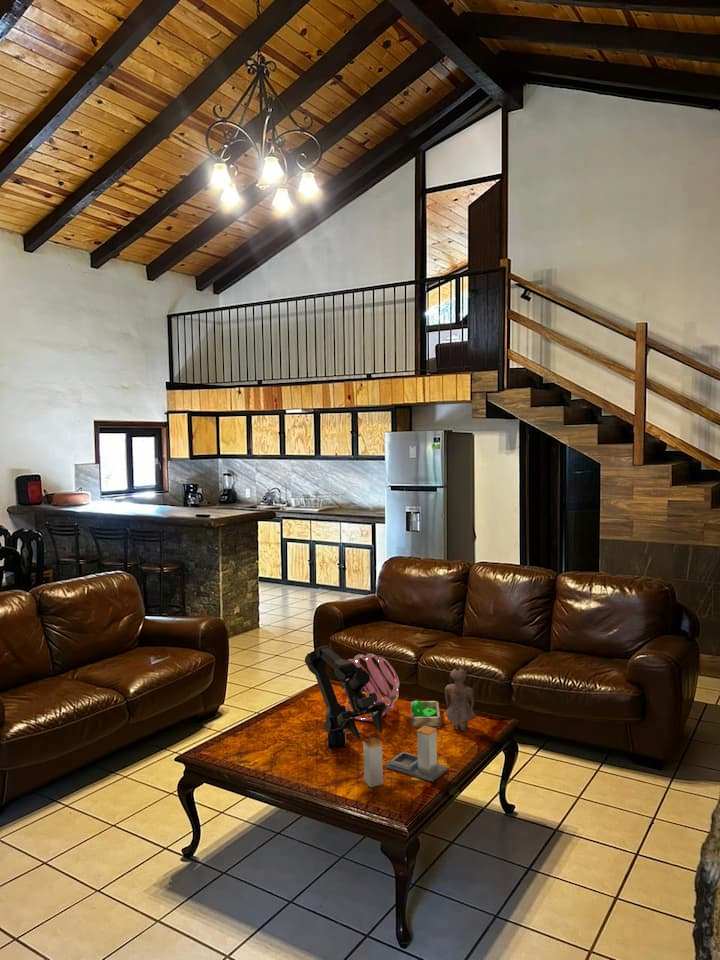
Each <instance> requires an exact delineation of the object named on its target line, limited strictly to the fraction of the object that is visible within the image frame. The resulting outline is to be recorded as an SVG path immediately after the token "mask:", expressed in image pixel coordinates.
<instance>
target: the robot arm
mask: <svg viewBox="0 0 720 960" xmlns="http://www.w3.org/2000/svg"><path fill="white" fill-rule="evenodd" d="M304 663H305V665H306V667H307V668H308V671H309V672H311V674H312V675H314V676H315V679H316V680H317V681H316V682H317V685H318V687H319V689H320V692H321V696H322V698H323V701H324V704H325V706H326V712H325V718H326V719H325V721H324V723H323V724H322V726H323V731H325V732H326V733H327V746H326V747H327V748H329V749H334V748H336V749H337V748H339V749H343V748H345V745H346V743H347V742H346V741H347V737H346V735H347V733H346V732H347V731H345V730H349V731H350V732H351V733H352V734H353V736H355V738H357V739H358V740H360V739H361V735H360V733H359V730H358V727H357V725H356V721H355V720H356V719H355V717H362V716H365V715H369V713H371V714H373V715H374V716H373V717H372V716H371V718H373V720H372V721H373V722H374V724H375V726H376V729H377V731H378V733H380V734H381V733H382V732H383V729H382V718H383V717H382V713H383V712H384V710H385V709H386V708H387V707H386V705H387V703H386V704H385V703H384V702H379V703H375V704H374V702H376V701H377V700H378V699H377V695H376V693H370V694H369V695H368V696H367V695H366V693H363V690H362V689H364V686H365V685H366V684H367V683H368V682H369V681H370V676H371V674H370V673H369V672H368V671H367V670H366V669H365V670H366V671H367V672H368V673H369V674H368V673H367V672H366V671H365V670H362V668H361V667H357V666H356V665H355V664H354V663H353V662H351V661H349V659H343V658H342V657H340V656H339V655H338V654H337V653H336V652H335V651H334V650H332V649H331V648H330V646H329V645H322V646H319V647H316V649H314V650H313V651H311V652H308V653H306V655H305V657H304ZM328 665H329V666H330V668H331V669H333V670H334V676H336V677H337V679H338V680H340V681H343V684H342V686H341V690H345V694H346V695H347V698H348V701H347V703H348V705H350V706H351V707H352V709H349V710H348V711H346V710H347V707H346V705H344V704H342V705H341V704H340V703H339V701H338V699H337V697H336V693H335V690H334V687H333V686H332V682H331V679H330V677H329V674H328V672H327V666H328ZM348 678H349V680H347V681H346V679H348ZM368 684H369V683H368ZM371 705H372V707H371V708H368V707H370V706H371ZM351 710H352V711H351Z"/></svg>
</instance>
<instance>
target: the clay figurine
mask: <svg viewBox="0 0 720 960" xmlns="http://www.w3.org/2000/svg"><path fill="white" fill-rule="evenodd" d="M449 675H450V678H451V679H452V680H453V682H454V683H450V684H447V685H446V686H445V688H444V696H445V697H444V698H445V703H446V707H447V709H446V711H445V716H446V718H447V719H448V720H449V722H450V723H451V724H452V725H453V726H452V729H456V730H458V729H460V730H461V731H466V730H467V729H468V728H469V726H468V725H467V724H468V721H471V720H473V719H475V718H476V714H475V712H474V706H475V692H474V689H473V688H472V687H470V686H468V685H465V684H464V683H465V681H466V679H467V674H466V671H465V670H464V669H462V668H461V667H460V668H459V667H456V668H454V669H452V670H451V671H450V674H449ZM459 727H460V728H459Z"/></svg>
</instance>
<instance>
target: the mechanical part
mask: <svg viewBox="0 0 720 960" xmlns="http://www.w3.org/2000/svg"><path fill="white" fill-rule="evenodd" d="M420 701H421V700H414V702H413V704H412V707H411V706H410V709H411V710H410V712H413V713H414V717H437V712H436V710H434V709H431V708H426V709H424V710H423V705H422V702H420Z"/></svg>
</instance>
